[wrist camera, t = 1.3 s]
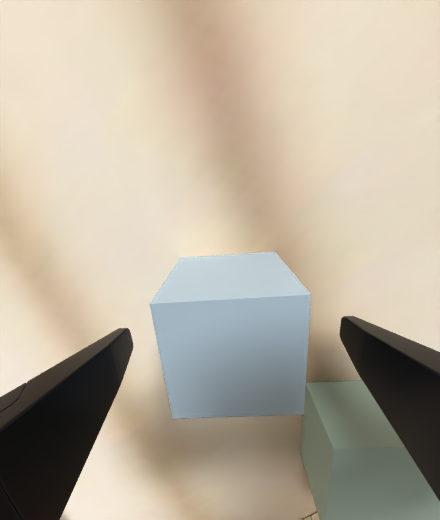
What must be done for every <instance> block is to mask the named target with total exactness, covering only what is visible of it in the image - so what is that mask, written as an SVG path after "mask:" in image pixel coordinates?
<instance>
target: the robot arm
mask: <svg viewBox="0 0 440 520" xmlns="http://www.w3.org/2000/svg"><path fill="white" fill-rule="evenodd" d="M340 338H341V341H342V343H343V345H344V347H345V348H346V350H347V352H348V354H349V356H350V358H351V360H352V362H353V364H354V366H355V368H356V370H357V372H358V374H359V375H360V377H361V379H362V380H363V382H364V384H365V385H366V387H367V388H368V390H369V391H370V393H371V395H372V396H373V398H374V399H375V401H376V402H377V404H378V406H379V407H380V409H381V410H382V412H383V413H384V415H385V416H386V418H387V420H388V421H389V423H390V424H391V426H392V427H393V429H394V431H395V432H396V434H397V435H398V437H399V438H400V440H401V442H402V443H403V445H404V446H405V448H406V449H407V451H408V453H409V454H410V456H411V457H412V459H413V460H414V462H415V464H416V465H417V467H418V468H419V470H420V471H421V473H422V475H423V476H424V478H425V479H426V481H427V482H428V484H429V486H430V487H431V489H432V490H433V492H434V493H435V495H436V497H437V498H438V500H439V501H440V352H438V351H436V350H433V349H431V348H428V347H426V346H424V345H421V344H419V343H417V342H414V341H412V340H409V339H407V338H405V337H402V336H400V335H397V334H395V333H393V332H390V331H388V330H385V329H383V328H381V327H378V326H376V325H373V324H371V323H369V322H366V321H364V320H362V319H359V318H357V317H354V316H344V317H342V319H341V326H340ZM132 350H133V341H132V337H131V333H130V330H129V329H128V328H119V329H117V330H115V331H114V332H112V333H110V334H108V335H107V336H105V337H103V338H102V339H100V340H98V341H96V342H95V343H93V344H91V345H89V346H88V347H86V348H84V349H83V350H81V351H79V352H77V353H76V354H74V355H72V356H71V357H69V358H67V359H65V360H64V361H62V362H60V363H59V364H57V365H55V366H53V367H52V368H50V369H48V370H47V371H45V372H43V373H41V374H40V375H38V376H36V377H34V378H33V379H31V380H29V381H28V382H27V383H24V384H22V385H21V386H19V387H17V388H15V389H14V390H12V391H10V392H9V393H7V394H5V395H3V396H1V397H0V520H60V518H61V515H62V513H63V511H64V509H65V507H66V504H67V502H68V500H69V498H70V496H71V493H72V491H73V489H74V487H75V485H76V482H77V480H78V478H79V476H80V474H81V471H82V469H83V467H84V465H85V463H86V460H87V458H88V456H89V454H90V451H91V449H92V447H93V445H94V443H95V440H96V438H97V436H98V434H99V432H100V429H101V427H102V425H103V423H104V421H105V418H106V416H107V414H108V412H109V410H110V407H111V405H112V403H113V401H114V399H115V396H116V394H117V392H118V390H119V387H120V385H121V382H122V380H123V377H124V374H125V371H126V368H127V365H128V362H129V359H130V356H131V353H132Z"/></svg>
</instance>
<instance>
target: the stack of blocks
mask: <svg viewBox="0 0 440 520" xmlns="http://www.w3.org/2000/svg"><path fill="white" fill-rule="evenodd" d="M303 520H320V519H319V516H318V512H317V513H315V514H313V515H312V516H309V517H307V518H305V519H303Z"/></svg>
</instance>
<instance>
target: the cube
mask: <svg viewBox="0 0 440 520" xmlns="http://www.w3.org/2000/svg"><path fill="white" fill-rule="evenodd" d="M310 306H311V294H310V293H309V291H308V290H307V289H306V288H305V287H304V286H303V284H302V283H301V282H300V281H299V280H298V278H297V277H296V276H295V275H294V274H293V273H292V271H291V270H290V269H289V268H288V267H287V265H286V264H285V263H284V262H283V261H282V260H281V258H280V257H279V256H278V255H277V254H276V252H261V253H246V254H231V255H216V256H201V257H186V258H180V260H179V261H178V263H177V264H176V266H175V267H174V269H173V270H172V271H171V273H170V274H169V276H168V277H167V279H166V280H165V282H164V283H163V285H162V286H161V288H160V289H159V291H158V292H157V294H156V295H155V297H154V298H153V300H152V301H151V303H150V308H151V313H152V318H153V323H154V328H155V333H156V338H157V343H158V348H159V353H160V358H161V363H162V368H163V373H164V379H165V384H166V389H167V394H168V399H169V404H170V409H171V414H172V419H185V418H215V417H245V416H274V415H304V404H305V387H306V371H307V355H308V338H309V322H310Z"/></svg>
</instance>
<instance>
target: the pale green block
mask: <svg viewBox="0 0 440 520" xmlns="http://www.w3.org/2000/svg"><path fill="white" fill-rule="evenodd" d="M301 458H302V461H303V464H304V468H305V471H306V475H307V478H308V481H309V485H310V488H311V492H312V495H313V499H314V502H315V505H316V509H317V512H318V516H319V519H320V520H440V501H439V500H438V498H437V497H436V495H435V493H434V492H433V490H432V489H431V487H430V486H429V484H428V482H427V481H426V479H425V478H424V476H423V475H422V473H421V471H420V470H419V468H418V467H417V465H416V464H415V462H414V460H413V459H412V457H411V456H410V454H409V453H408V451H407V449H406V448H405V446H404V445H403V443H402V442H401V440H400V438H399V437H398V435H397V434H396V432H395V431H394V429H393V427H392V426H391V424H390V423H389V421H388V420H387V418H386V416H385V415H384V413H383V412H382V410H381V409H380V407H379V406H378V404H377V402H376V401H375V399H374V398H373V396H372V395H371V393H370V391H369V390H368V388H367V387H366V385H365V384H364V382H363V380H362V381H336V382H311V383H306V387H305V404H304V415H303V428H302V444H301Z"/></svg>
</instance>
